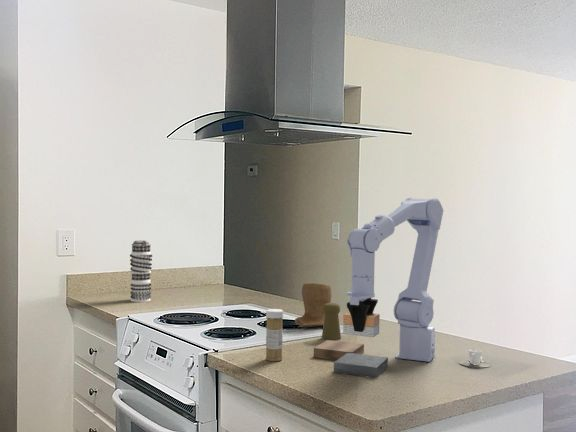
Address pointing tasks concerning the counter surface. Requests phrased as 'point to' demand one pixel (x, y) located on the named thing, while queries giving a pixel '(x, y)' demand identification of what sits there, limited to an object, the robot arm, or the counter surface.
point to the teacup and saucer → (475, 356)
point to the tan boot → (314, 304)
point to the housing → (369, 328)
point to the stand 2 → (361, 365)
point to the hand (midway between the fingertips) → (362, 329)
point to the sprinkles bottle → (274, 334)
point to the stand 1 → (337, 349)
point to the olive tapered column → (331, 322)
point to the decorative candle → (140, 271)
